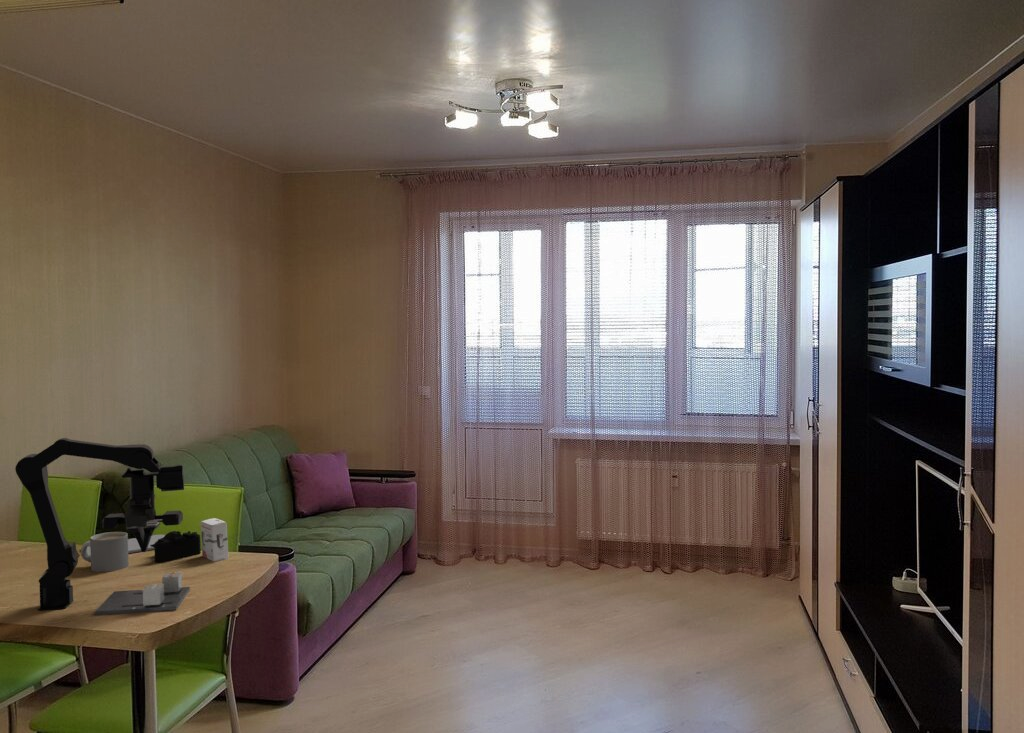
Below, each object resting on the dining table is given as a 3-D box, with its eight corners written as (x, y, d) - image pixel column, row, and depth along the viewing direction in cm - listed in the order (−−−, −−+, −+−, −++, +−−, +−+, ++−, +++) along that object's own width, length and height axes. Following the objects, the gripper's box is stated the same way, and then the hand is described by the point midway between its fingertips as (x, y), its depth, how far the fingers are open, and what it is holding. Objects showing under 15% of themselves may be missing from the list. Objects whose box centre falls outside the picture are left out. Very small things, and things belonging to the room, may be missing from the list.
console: (94, 615, 197) (94, 611, 197) (114, 595, 213) (114, 591, 213) (176, 610, 201) (176, 605, 201) (189, 590, 217) (189, 586, 217)
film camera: (189, 551, 257) (188, 523, 257) (204, 556, 251) (203, 527, 251) (142, 561, 246) (141, 532, 246) (156, 566, 240) (155, 537, 239)
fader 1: (143, 605, 200) (142, 589, 200) (147, 600, 204) (147, 584, 204) (160, 604, 201) (159, 588, 201) (164, 599, 205) (163, 583, 205)
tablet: (80, 553, 257) (79, 546, 257) (165, 540, 273) (165, 533, 273) (90, 564, 244) (89, 556, 244) (179, 549, 260) (178, 543, 260)
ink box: (200, 558, 248) (200, 520, 248) (216, 554, 252) (215, 517, 252) (213, 563, 242) (212, 524, 242) (229, 560, 246) (228, 521, 245)
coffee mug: (136, 565, 241) (135, 532, 240) (111, 575, 231) (110, 541, 231) (99, 562, 244) (98, 530, 244) (73, 572, 235) (72, 538, 234)
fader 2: (162, 592, 211) (162, 576, 210) (166, 587, 214) (165, 572, 214) (178, 591, 211) (178, 575, 211) (182, 586, 215) (181, 571, 215)
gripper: (94, 501, 201) (96, 562, 201) (172, 497, 204) (174, 557, 205) (107, 492, 212) (109, 550, 212) (182, 489, 215) (184, 546, 216)
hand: (144, 551), depth 211 cm, fingers closed
